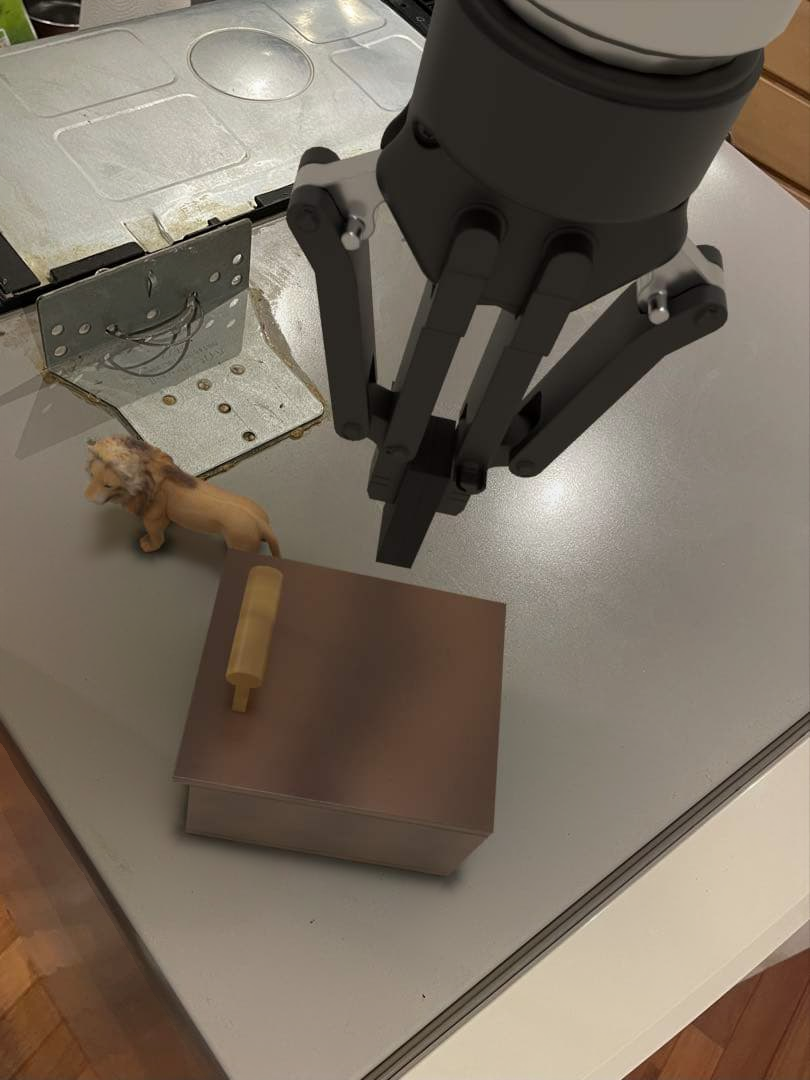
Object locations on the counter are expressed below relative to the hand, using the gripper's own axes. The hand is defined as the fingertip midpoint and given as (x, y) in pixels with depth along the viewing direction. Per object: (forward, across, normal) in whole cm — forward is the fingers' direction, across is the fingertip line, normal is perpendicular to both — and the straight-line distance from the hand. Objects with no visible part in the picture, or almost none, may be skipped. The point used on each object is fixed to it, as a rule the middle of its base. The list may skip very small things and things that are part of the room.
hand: (396, 537), depth 41 cm
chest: (+24, +1, 0) cm, 24 cm away
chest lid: (+16, +1, 0) cm, 16 cm away
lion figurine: (+25, -10, +12) cm, 29 cm away
